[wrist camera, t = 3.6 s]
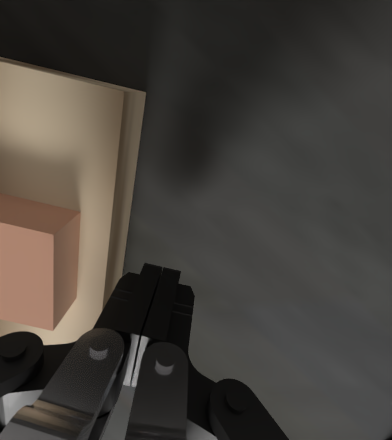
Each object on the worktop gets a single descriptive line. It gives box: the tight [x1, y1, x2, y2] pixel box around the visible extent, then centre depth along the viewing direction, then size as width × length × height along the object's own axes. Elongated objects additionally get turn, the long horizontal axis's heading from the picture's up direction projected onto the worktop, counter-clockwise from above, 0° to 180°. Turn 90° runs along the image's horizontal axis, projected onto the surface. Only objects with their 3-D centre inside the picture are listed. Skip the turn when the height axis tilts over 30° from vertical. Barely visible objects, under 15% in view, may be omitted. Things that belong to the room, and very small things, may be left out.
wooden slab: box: [0, 57, 146, 345], centre depth 13 cm, size 11×14×3 cm
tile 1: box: [0, 193, 81, 331], centre depth 11 cm, size 4×4×2 cm
